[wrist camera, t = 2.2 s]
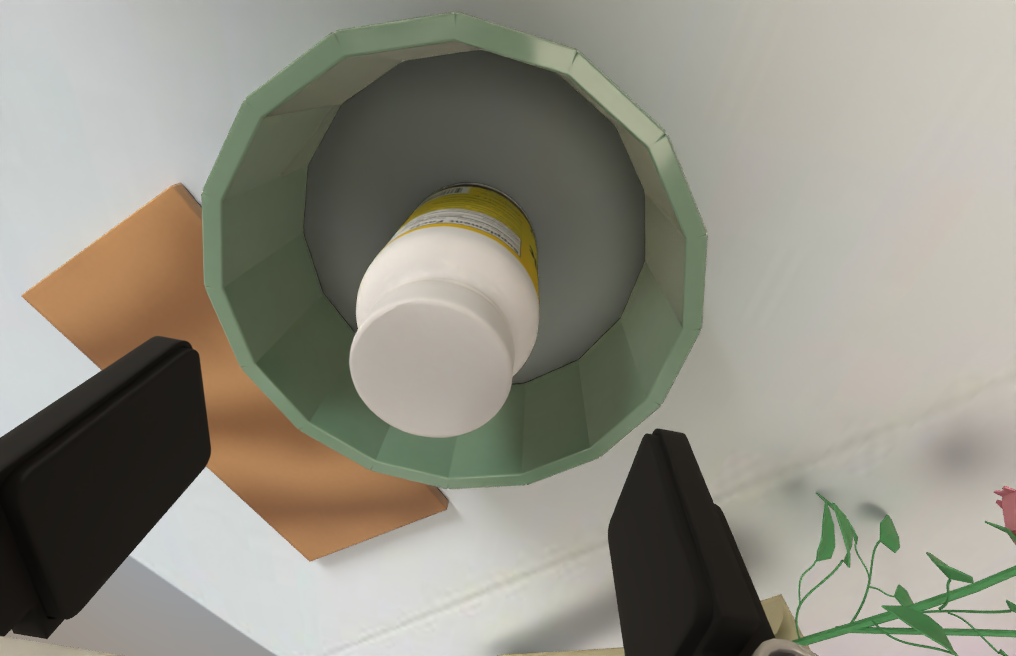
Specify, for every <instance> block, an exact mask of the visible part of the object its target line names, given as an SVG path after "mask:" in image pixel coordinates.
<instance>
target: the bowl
mask: <svg viewBox="0 0 1016 656" xmlns="http://www.w3.org/2000/svg"><path fill="white" fill-rule="evenodd" d="M480 49H481V50H484V51H487V52H491V53H494V54H497V55H500V56H503V57H507V58H510V59H513V60H516V61H520V62H523V63H526V64H529V65H533V66H536V67H539V68H542V69H545V70H549V71H552V72H555V73H558V74H559V75H560V76H561V77H562V78H563V79H564V80H565V81H567V82H568V83H569V84H570V85H571V86H572V87H573V88H574V89H575V90H577V91H578V92H579V93H580V94H581V95H582V96H583V97H584V98H585V99H586V100H588V101H589V102H590V103H591V104H592V105H593V106H594V107H595V108H596V109H598V110H599V111H600V112H601V113H602V114H603V115H604V116H605V117H606V118H608V119H609V120H610V121H611V122H612V123H613V124H614V125H615V126H616V128H617V130H618V132H619V135H620V137H621V139H622V141H623V144H624V146H625V148H626V151H627V153H628V155H629V157H630V160H631V162H632V164H633V166H634V169H635V171H636V173H637V176H638V178H639V180H640V182H641V185H642V187H643V189H644V191H645V263H644V265H643V267H642V270H641V272H640V274H639V277H638V279H637V281H636V284H635V286H634V288H633V290H632V293H631V295H630V297H629V300H628V302H627V304H626V307H625V309H624V311H623V314H622V316H621V318H620V319H619V320H618V321H617V322H616V323H615V324H614V325H613V326H612V327H611V328H610V329H609V330H608V331H607V332H606V333H605V334H604V335H603V336H602V337H601V338H600V339H599V340H598V341H597V342H596V343H595V344H594V345H593V346H592V347H591V348H590V349H589V350H588V351H587V352H586V353H585V354H584V355H583V356H582V357H581V358H580V359H579V360H577V361H575V362H572V363H570V364H568V365H566V366H563V367H561V368H559V369H557V370H554V371H552V372H550V373H548V374H545V375H543V376H541V377H538V378H536V379H534V380H532V381H529V382H527V383H525V384H512V385H511V389H510V392H509V395H508V397H507V399H506V401H505V403H504V404H503V406H502V407H501V409H500V410H499V411H498V413H497V414H496V415H495V416H494V417H493V418H492V419H491V420H489V421H488V422H487V423H485V424H484V425H483V426H481V427H479V428H477V429H476V430H473V431H471V432H468V433H465V434H462V435H457V436H453V437H444V438H433V437H424V436H418V435H414V434H410V433H407V432H404V431H402V430H399V429H397V428H395V427H393V426H391V425H390V424H388V423H386V422H385V421H383V420H382V419H381V418H379V417H378V416H377V415H376V414H375V413H373V412H372V411H371V410H370V409H369V408H368V407H367V405H366V404H365V403H364V401H363V400H362V399H361V397H360V396H359V394H358V392H357V390H356V388H355V386H354V383H353V380H352V377H351V372H350V365H349V358H350V349H351V345H352V342H353V339H354V336H355V333H354V331H353V330H352V329H351V328H350V326H349V325H348V324H347V323H346V321H345V320H344V319H343V318H342V316H341V315H340V314H339V312H338V311H337V310H336V309H335V307H334V306H333V305H332V304H331V302H330V301H329V300H328V299H327V297H326V296H325V295H324V294H323V292H322V289H321V286H320V282H319V279H318V276H317V273H316V270H315V267H314V264H313V261H312V258H311V255H310V252H309V249H308V246H307V243H306V240H305V237H304V234H303V226H304V212H305V199H306V185H307V171H308V164H309V162H310V161H311V159H312V157H313V155H314V153H315V151H316V150H317V148H318V146H319V144H320V142H321V141H322V139H323V137H324V135H325V133H326V131H327V130H328V128H329V126H330V124H331V122H332V121H333V119H334V117H335V115H336V113H337V111H338V110H339V108H340V106H341V104H342V103H344V102H345V101H346V100H348V99H349V98H351V97H352V96H354V95H355V94H356V93H358V92H359V91H361V90H362V89H364V88H365V87H366V86H368V85H369V84H371V83H372V82H374V81H375V80H376V79H378V78H379V77H381V76H382V75H384V74H385V73H386V72H388V71H389V70H391V69H392V68H394V67H395V66H396V65H398V64H399V63H401V62H402V61H406V60H413V59H420V58H426V57H433V56H440V55H446V54H453V53H460V52H466V51H473V50H480ZM201 196H202V232H203V269H204V286H206V287H205V289H206V292H207V294H208V296H209V298H210V301H211V303H212V305H213V307H214V310H215V312H216V314H217V316H218V319H219V321H220V323H221V325H222V328H223V330H224V332H225V334H226V337H227V339H228V341H229V343H230V346H231V348H232V350H233V352H234V355H235V357H236V359H237V361H238V364H239V366H240V367H242V370H243V371H244V372H245V373H246V375H247V376H248V377H249V378H250V379H251V380H252V381H253V382H254V383H255V384H256V385H257V386H258V387H259V388H260V389H261V391H262V392H263V393H264V394H265V395H266V396H267V397H268V398H269V399H270V400H271V401H272V402H273V403H274V404H275V405H276V406H277V408H278V409H279V410H280V411H281V412H282V413H283V414H284V415H285V416H286V417H287V418H288V419H289V420H290V421H291V422H292V423H293V425H294V426H295V427H296V428H297V429H300V431H301V432H303V433H305V434H306V435H308V436H310V437H312V438H313V439H315V440H317V441H319V442H320V443H322V444H324V445H326V446H327V447H329V448H331V449H333V450H335V451H336V452H338V453H340V454H342V455H343V456H345V457H347V458H349V459H350V460H352V461H354V462H356V463H357V464H359V465H361V466H363V467H364V468H366V469H368V470H371V471H373V472H377V473H381V474H386V475H390V476H394V477H398V478H402V479H407V480H411V481H415V482H419V483H423V484H428V485H432V486H436V487H440V488H445V489H447V488H449V489H463V488H482V487H500V486H519V485H525V484H527V485H529V484H531V483H534V482H537V481H539V480H542V479H545V478H547V477H550V476H553V475H555V474H558V473H561V472H563V471H566V470H568V469H571V468H574V467H576V466H579V465H582V464H584V463H587V462H590V461H592V460H595V459H598V458H599V456H600V457H601V456H602V455H603V454H605V453H606V452H607V451H608V450H609V449H611V448H612V447H613V446H614V445H615V444H616V443H618V442H619V441H620V440H621V439H622V438H624V437H625V436H626V435H627V434H628V433H630V432H631V431H632V430H633V429H634V428H635V427H637V426H638V425H639V424H640V423H641V422H643V421H644V420H645V419H646V418H647V417H648V416H650V415H651V414H652V413H653V412H654V411H656V410H657V409H658V408H659V407H660V406H661V404H662V403H663V402H664V400H665V398H666V396H667V394H668V392H669V390H670V388H671V386H672V385H673V383H674V381H675V379H676V377H677V375H678V373H679V371H680V369H681V367H682V365H683V364H684V362H685V360H686V358H687V356H688V354H689V352H690V350H691V348H692V346H693V345H694V343H695V341H696V339H697V337H698V335H699V333H700V331H701V328H702V320H703V303H704V287H705V271H706V254H707V238H708V236H707V234H706V228H705V226H704V223H703V221H702V218H701V216H700V213H699V211H698V208H697V206H696V203H695V201H694V198H693V196H692V193H691V191H690V188H689V185H688V183H687V180H686V178H685V175H684V173H683V170H682V168H681V165H680V163H679V160H678V158H677V155H676V153H675V150H674V148H673V145H672V143H671V140H670V138H669V136H668V135H667V134H666V132H665V130H664V129H663V128H662V127H661V126H660V125H659V124H658V123H657V122H655V121H654V120H653V119H652V118H651V117H650V116H649V115H648V114H647V113H646V112H645V111H644V110H643V109H641V108H640V107H639V106H638V105H637V104H636V103H635V102H634V101H633V100H632V99H631V98H630V97H629V96H628V95H626V94H625V93H624V92H623V91H622V90H621V89H620V88H619V87H618V86H617V85H616V84H615V83H614V82H612V81H611V80H610V79H609V78H608V77H607V76H606V75H605V74H604V73H603V72H602V71H601V70H600V69H598V68H597V67H596V66H595V65H594V64H593V63H592V62H591V61H590V60H589V59H588V58H587V57H586V56H584V55H583V54H582V53H581V52H577V50H576V49H575V48H571V47H568V46H565V45H562V44H559V43H556V42H552V41H549V40H546V39H543V38H540V37H536V36H533V35H530V34H527V33H524V32H521V31H517V30H514V29H511V28H508V27H505V26H502V25H498V24H495V23H492V22H489V21H486V20H482V19H479V18H476V17H473V16H470V15H467V14H463V13H460V12H457V13H455V12H449V13H442V14H436V15H430V16H424V17H417V18H411V19H405V20H398V21H392V22H386V23H379V24H373V25H367V26H361V27H354V28H348V29H342V30H337V31H336V33H334V32H333V33H330V34H329V35H328V36H326V37H325V38H324V39H322V40H321V41H320V42H319V43H317V44H316V45H315V46H313V47H312V48H311V49H309V50H308V51H307V52H305V53H304V54H303V55H301V56H300V57H299V58H297V59H296V60H295V61H293V62H292V63H291V64H289V65H288V66H287V67H285V68H284V69H283V70H281V71H280V72H279V73H278V74H276V75H275V76H274V77H272V78H271V79H270V80H268V81H267V82H266V83H264V84H263V85H262V86H260V87H259V88H258V89H256V90H255V91H254V92H252V93H251V94H250V95H248V96H247V97H246V100H244V101H243V103H242V105H241V107H240V109H239V111H238V114H237V116H236V118H235V120H234V122H233V125H232V127H231V129H230V131H229V133H228V135H227V138H226V140H225V142H224V144H223V146H222V149H221V151H220V153H219V155H218V157H217V160H216V162H215V164H214V166H213V168H212V170H211V173H210V175H209V177H208V179H207V181H206V184H205V186H204V188H203V193H202V194H201Z"/></svg>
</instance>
